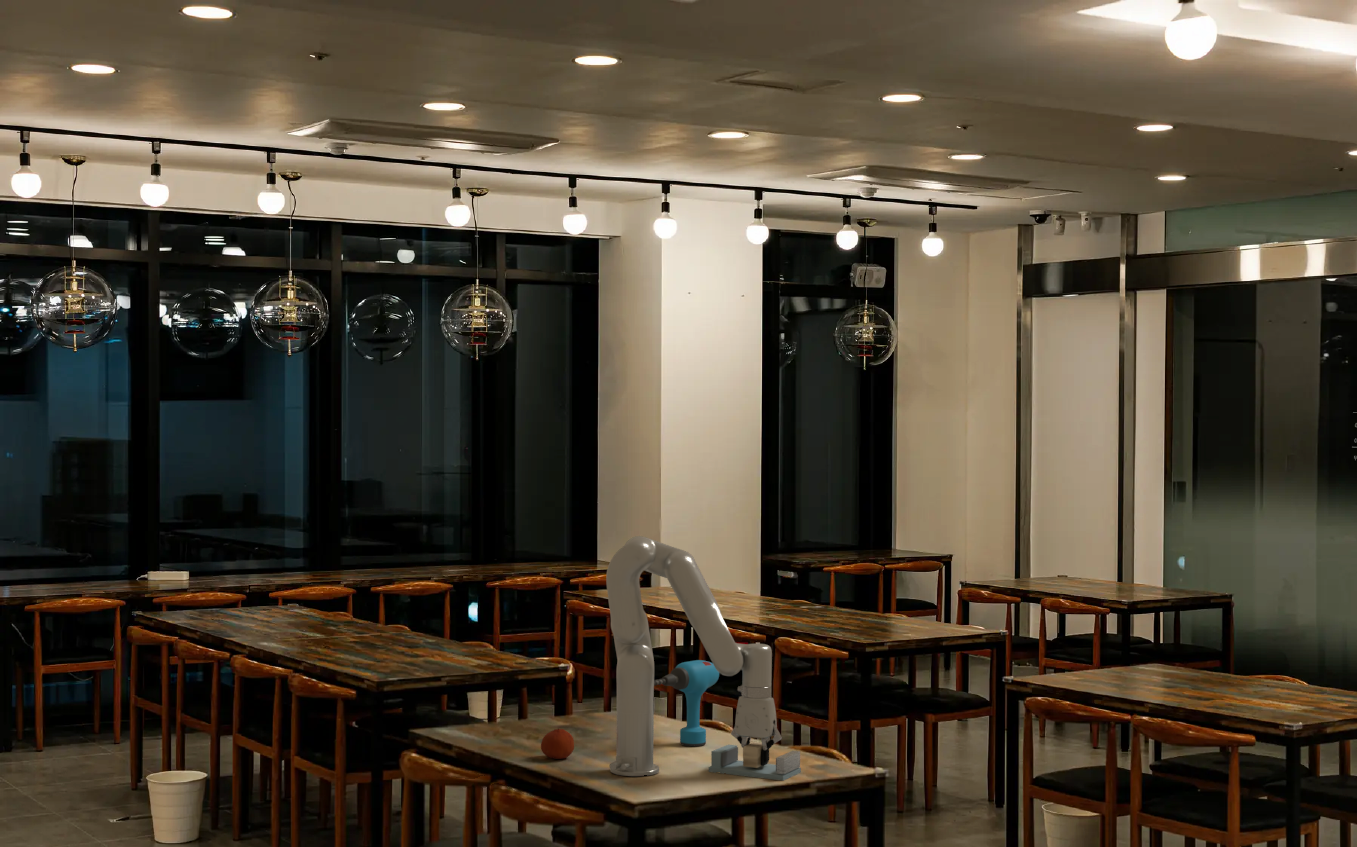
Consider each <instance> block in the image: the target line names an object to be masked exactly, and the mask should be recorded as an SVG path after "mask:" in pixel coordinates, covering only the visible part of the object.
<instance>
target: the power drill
mask: <svg viewBox="0 0 1357 847" xmlns="http://www.w3.org/2000/svg"><path fill="white" fill-rule="evenodd" d="M719 677H720V673H719V672H718V671H717V670H716V668H715V666H714V664H713V662H712V661H711V662H710V661H706V660H702V659H696V660H690V661H684V662H681V663H679V664H677V665H676V666H675V667H674V668H673V669H672V670H671V671H670V673H668V674H666V675H665V676H662V678H659V679H654V687H655V686H661V685H663V686H664V687H665V686H666V687H673V689H675V690H677V691H680V692H683V693H684V694H685V698H686V726H685V727H682V728H680V730H679V744H680V745H682V746H685V747H700V746H701V747H702V746H704V745H706V743H707V729H706V728H704V727H702V726H700V713H701V712H700V711H701V709H700V708H701V707H700V706H701V698H702V696H703V694H704V693H705V692H706V691H707V689H709V688H711V687H712V686H713V685H715V684H716V683H717V682H718V680H719Z"/></svg>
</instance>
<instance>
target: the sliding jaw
mask: <svg viewBox="0 0 1357 847" xmlns="http://www.w3.org/2000/svg"><path fill="white" fill-rule="evenodd" d="M775 765H776V772H777V774H786V773H788V772H790V771H792V770H795V769H797V768H801V751H799V750H791V751H788V752H786V753H784V754H782V755H779V756H777V757H776V758H775Z"/></svg>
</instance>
